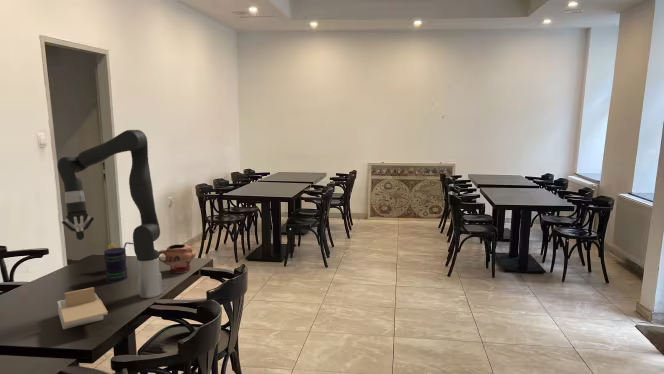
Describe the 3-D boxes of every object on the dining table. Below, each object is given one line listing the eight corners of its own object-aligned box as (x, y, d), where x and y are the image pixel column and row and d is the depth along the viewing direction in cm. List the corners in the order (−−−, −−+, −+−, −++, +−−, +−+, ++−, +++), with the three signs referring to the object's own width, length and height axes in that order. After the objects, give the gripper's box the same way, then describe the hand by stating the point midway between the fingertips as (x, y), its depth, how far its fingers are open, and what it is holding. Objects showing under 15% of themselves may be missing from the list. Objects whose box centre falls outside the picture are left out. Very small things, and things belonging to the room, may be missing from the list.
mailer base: (96, 306, 187) (95, 293, 186) (103, 319, 174) (102, 305, 173) (58, 315, 179) (57, 301, 178) (63, 329, 166) (61, 314, 165)
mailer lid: (100, 300, 177) (99, 285, 176) (107, 314, 165) (106, 298, 164) (60, 309, 169) (58, 294, 168) (64, 324, 156) (63, 307, 155)
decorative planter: (155, 276, 224) (153, 250, 222) (159, 269, 235) (157, 244, 233) (195, 273, 228) (194, 247, 226) (197, 266, 240) (196, 241, 238)
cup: (137, 266, 240) (135, 240, 238) (132, 271, 232) (130, 243, 230) (110, 267, 239) (108, 240, 237) (104, 271, 231) (102, 244, 229)
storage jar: (105, 283, 214) (102, 254, 212) (107, 277, 223) (104, 248, 221) (127, 280, 218) (125, 251, 216) (128, 274, 227) (126, 246, 225)
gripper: (59, 203, 187) (64, 242, 187) (93, 199, 195) (98, 237, 196) (57, 203, 193) (62, 242, 193) (90, 199, 201) (95, 237, 201)
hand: (80, 239), depth 194 cm, fingers closed
